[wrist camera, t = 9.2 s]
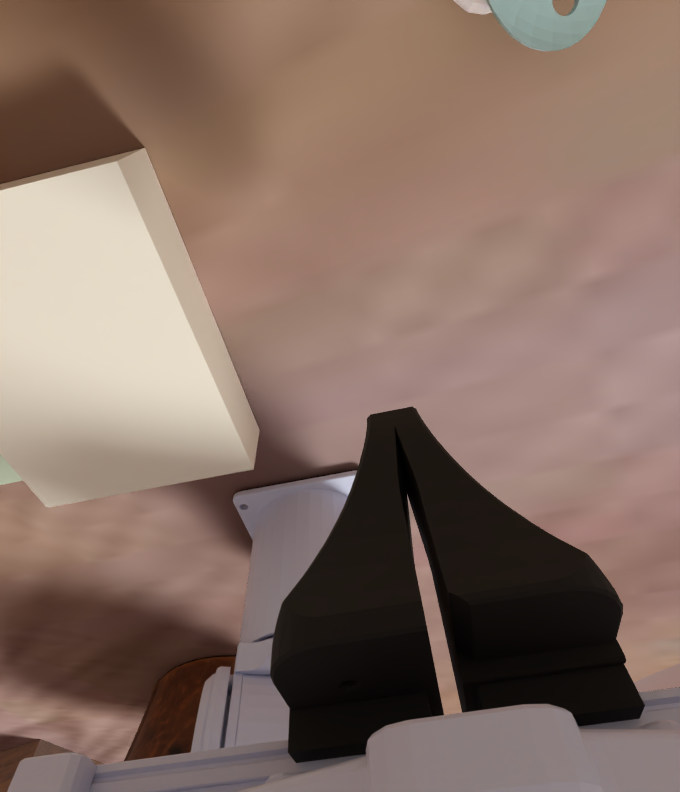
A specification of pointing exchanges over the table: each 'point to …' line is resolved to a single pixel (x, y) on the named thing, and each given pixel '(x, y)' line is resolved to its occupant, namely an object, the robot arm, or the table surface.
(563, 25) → the pacifier
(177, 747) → the brown tapered round container
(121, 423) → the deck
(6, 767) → the tissue box cover
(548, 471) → the table surface
